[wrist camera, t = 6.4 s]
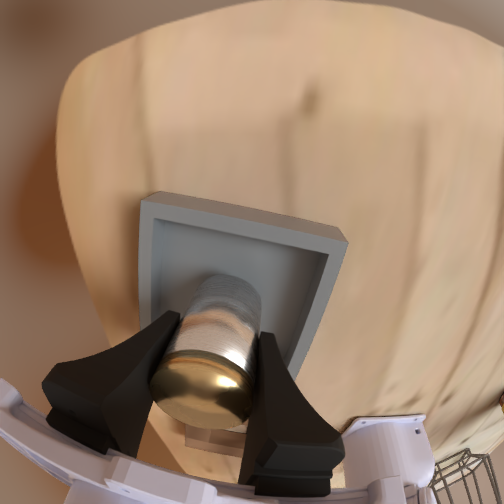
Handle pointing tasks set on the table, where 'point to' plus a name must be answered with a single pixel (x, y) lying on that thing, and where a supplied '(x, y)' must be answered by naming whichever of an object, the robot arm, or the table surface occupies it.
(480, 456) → the geometric lantern
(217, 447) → the block
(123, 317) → the table surface
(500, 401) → the sauce bottle
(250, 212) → the tray
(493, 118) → the table surface
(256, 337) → the gold and silver cylinder
